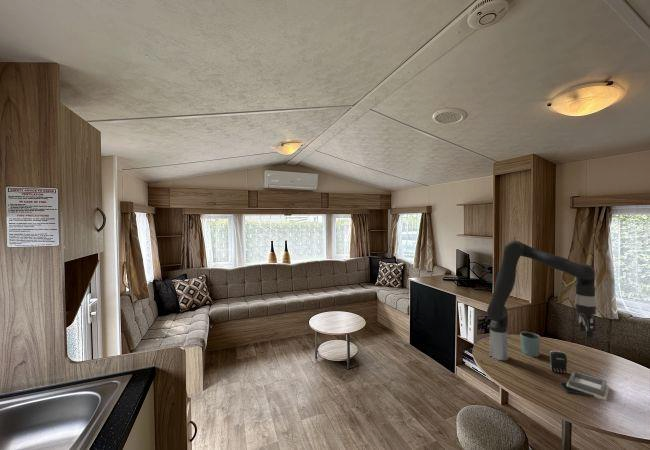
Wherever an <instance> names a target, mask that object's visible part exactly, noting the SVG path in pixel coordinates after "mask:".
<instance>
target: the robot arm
mask: <svg viewBox="0 0 650 450" xmlns="http://www.w3.org/2000/svg"><path fill="white" fill-rule="evenodd" d="M521 257H525V258H528V259H532V260H533V261H536V262H538V263H540V264H542V265H544V266H546V267H549V268H552V269H555V270H558V271H560V272H564V273H566V274H569V275H571V276H573V277H575V278H576V285H575V312H576V313H577V314H576V315H577V316H576V317H577V318H576V320H577V322H578V324H579V331H580V332H585V334H586V335H585V336H586V337H585V338H587V339H593V337H594V335H593V334H594V333H593V332H596V320H595V318H593V317H592V315H596V314H597V299H596V286H595V282H596V281H595V280H596V271H595V268H594V267H593V266H592V265H589V264H586V263H582V264H580V263H578V262H577V263H576V262H574V261H572V260H570V259H567V258H565V257H562V256H558V255H555V254H552V253H549V252H545V251H542V250H539V249H537V248H535V247H532V246H529V245H528V244H525V243H523V242H521V241H518V240H512V241H510V242H507V243H506V244H505V245H504V248H503V255H502V261H501V264H500V267H499V270H498V272H497V275H496V280H495V282H494V287H493V292H492V297H491V299H490V302H489V305H488V307H487V308H486V309H487V310H486V314H487V317H488V318H489V319H490V322H489V327H488V328H489V341H488V348H489V357H491V356H492V357H491V358H493V359H494V360H498V361H508V360H509V346H508V345H509V344H508V343H509V342H508V326H509V316H508V314H509V313H508V309H507V307H506V306H505V305H506V302H507V300H508V298H509V297H510V295H511V293H512V291H513V289H514V287H515V283H516V280H517V279H516V278H517V266H518V265H517V264H518V263H519V260H520V258H521Z"/></svg>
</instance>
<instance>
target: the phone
mask: <svg viewBox="0 0 650 450" xmlns="http://www.w3.org/2000/svg"><path fill="white" fill-rule="evenodd" d="M567 383H568V382H566V383H565V382H559V385H560V387H561V388H562V389H563V390H564V392H565V393H568V394H571V395H577V394H578V396H584V395H585V396H586V397H591V398H592V397H593V398H595V397H594V395H591V394H588V393H585V392H582V391H579V390H576V389H573V388H570V387H567V386H566V385H567Z"/></svg>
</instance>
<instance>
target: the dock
mask: <svg viewBox="0 0 650 450" xmlns="http://www.w3.org/2000/svg"><path fill="white" fill-rule="evenodd" d="M566 383H567V385H566V386H567V387H570V388H573V389H576V390H579V391H582V392H585V393H588V394H591V395H594V397H593V398H597V399H599V400H602V401H605V402H606V401H607V400H608V395H609V390H610V385H609V384H607V380H606V379H602V378H599V377H596V376H592V375H589V374H585V373H583V372H578V371H576V370H572V372H571V374H570V376H569V379H568V381H567V382H566Z"/></svg>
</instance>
